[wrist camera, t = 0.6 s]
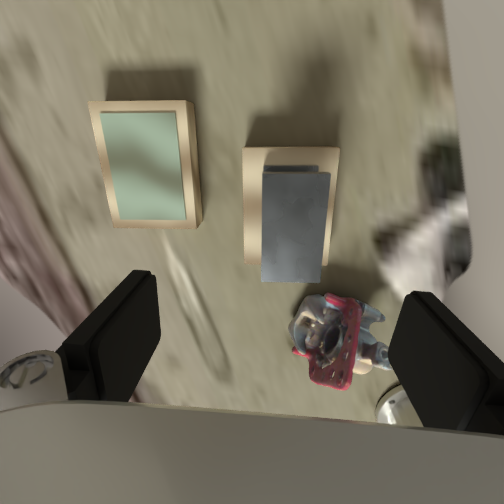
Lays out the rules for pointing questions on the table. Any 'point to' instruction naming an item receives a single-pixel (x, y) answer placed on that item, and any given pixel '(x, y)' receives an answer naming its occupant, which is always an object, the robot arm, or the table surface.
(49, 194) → the table surface
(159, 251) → the table surface
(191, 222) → the stand
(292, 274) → the block
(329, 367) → the motor mount assembly
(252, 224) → the stand
